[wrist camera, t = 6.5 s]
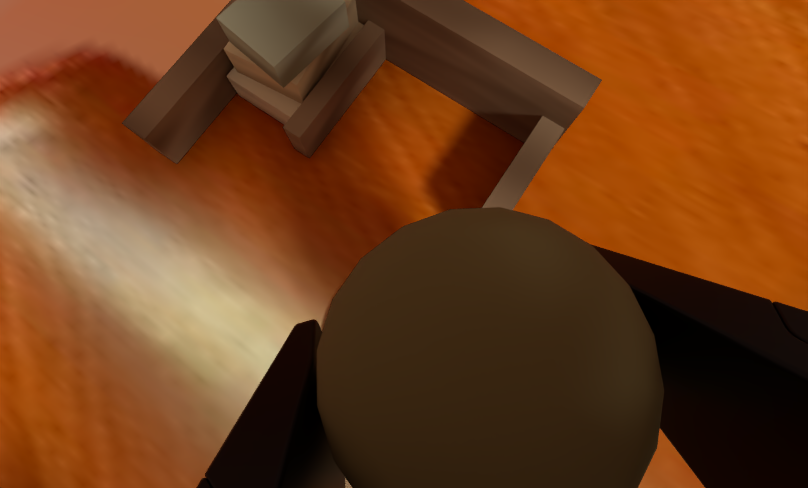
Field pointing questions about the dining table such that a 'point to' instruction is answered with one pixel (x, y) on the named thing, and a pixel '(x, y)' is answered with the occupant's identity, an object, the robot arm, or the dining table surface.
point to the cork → (488, 361)
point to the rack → (365, 74)
